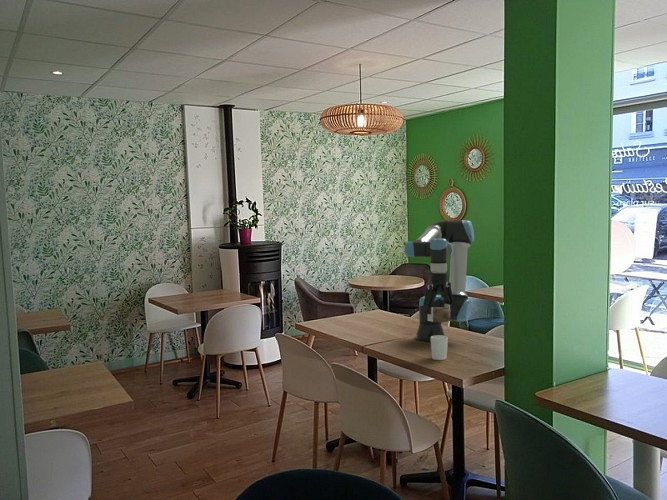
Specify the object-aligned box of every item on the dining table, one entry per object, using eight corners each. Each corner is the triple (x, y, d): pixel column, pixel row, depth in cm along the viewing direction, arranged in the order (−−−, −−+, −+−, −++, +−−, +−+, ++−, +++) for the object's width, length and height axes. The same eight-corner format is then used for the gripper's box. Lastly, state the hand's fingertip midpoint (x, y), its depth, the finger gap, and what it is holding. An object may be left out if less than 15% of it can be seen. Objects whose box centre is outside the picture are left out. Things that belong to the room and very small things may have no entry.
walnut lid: (438, 316, 264) (438, 306, 264) (455, 320, 256) (455, 309, 255) (422, 319, 258) (422, 309, 258) (439, 323, 250) (439, 312, 249)
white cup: (450, 357, 260) (450, 336, 259) (444, 361, 253) (444, 339, 252) (434, 355, 264) (434, 334, 263) (428, 359, 257) (428, 338, 256)
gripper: (449, 269, 265) (449, 315, 266) (414, 273, 252) (415, 321, 253) (461, 270, 259) (461, 317, 260) (426, 274, 245) (427, 324, 247)
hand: (438, 319), depth 257 cm, fingers closed on walnut lid, 10 cm apart
